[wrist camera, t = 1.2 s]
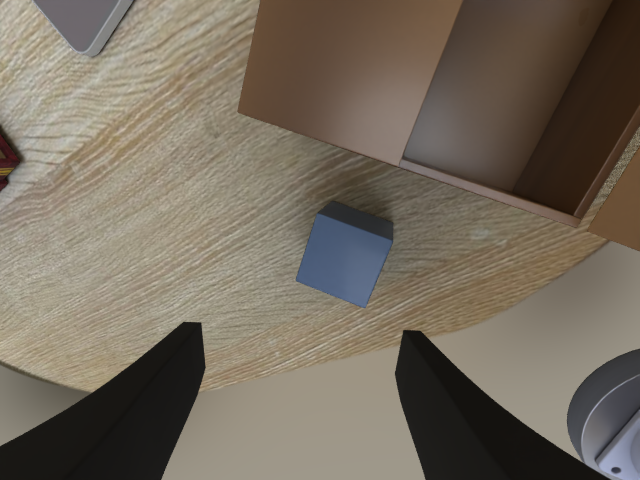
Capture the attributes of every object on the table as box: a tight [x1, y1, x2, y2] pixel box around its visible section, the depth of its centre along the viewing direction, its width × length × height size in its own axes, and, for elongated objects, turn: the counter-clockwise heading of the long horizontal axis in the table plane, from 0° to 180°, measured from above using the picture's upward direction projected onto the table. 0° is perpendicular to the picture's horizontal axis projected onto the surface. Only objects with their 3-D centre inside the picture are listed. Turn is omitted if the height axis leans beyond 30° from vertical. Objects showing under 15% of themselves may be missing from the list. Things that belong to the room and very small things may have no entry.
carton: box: [237, 0, 640, 228], centre depth 15 cm, size 15×12×8 cm
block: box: [296, 201, 393, 308], centre depth 21 cm, size 4×4×4 cm
